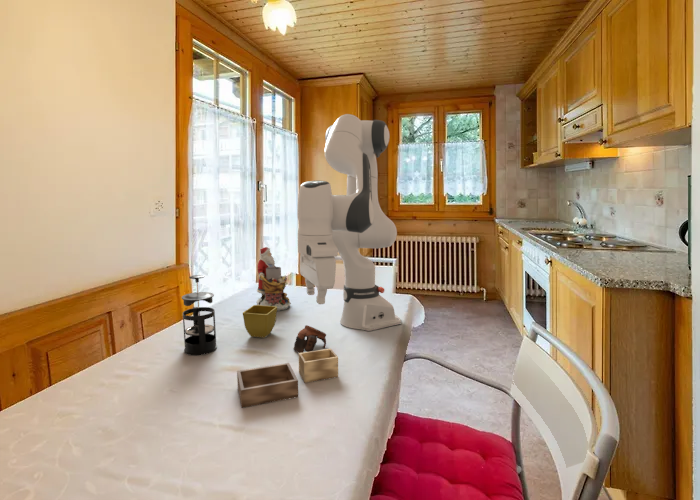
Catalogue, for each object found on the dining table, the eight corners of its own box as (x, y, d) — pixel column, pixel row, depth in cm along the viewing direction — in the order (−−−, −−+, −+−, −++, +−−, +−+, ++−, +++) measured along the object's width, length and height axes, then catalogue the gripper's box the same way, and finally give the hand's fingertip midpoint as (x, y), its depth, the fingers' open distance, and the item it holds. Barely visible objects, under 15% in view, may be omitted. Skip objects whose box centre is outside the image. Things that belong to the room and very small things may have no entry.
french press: (220, 352, 114) (216, 277, 111) (186, 359, 110) (181, 281, 106) (212, 339, 124) (209, 270, 121) (181, 344, 120) (177, 273, 116)
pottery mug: (290, 346, 120) (301, 322, 122) (317, 358, 122) (327, 333, 123) (293, 352, 109) (305, 325, 110) (322, 364, 110) (334, 338, 112)
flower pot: (267, 341, 123) (267, 314, 122) (242, 338, 125) (241, 312, 124) (278, 331, 132) (277, 306, 130) (254, 329, 133) (253, 304, 132)
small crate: (330, 367, 105) (330, 348, 104) (338, 377, 99) (338, 357, 99) (298, 372, 102) (298, 353, 101) (304, 383, 96) (304, 362, 95)
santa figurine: (293, 310, 155) (291, 249, 152) (257, 313, 151) (255, 251, 148) (288, 299, 171) (286, 244, 168) (256, 302, 167) (253, 246, 164)
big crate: (289, 378, 99) (288, 362, 98) (298, 397, 90) (298, 380, 89) (237, 386, 94) (237, 370, 93) (241, 407, 85) (241, 390, 84)
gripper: (294, 241, 105) (294, 290, 106) (314, 251, 86) (314, 310, 88) (316, 240, 107) (316, 289, 109) (340, 250, 88) (340, 308, 90)
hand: (315, 298), depth 98 cm, fingers open, 8 cm apart
